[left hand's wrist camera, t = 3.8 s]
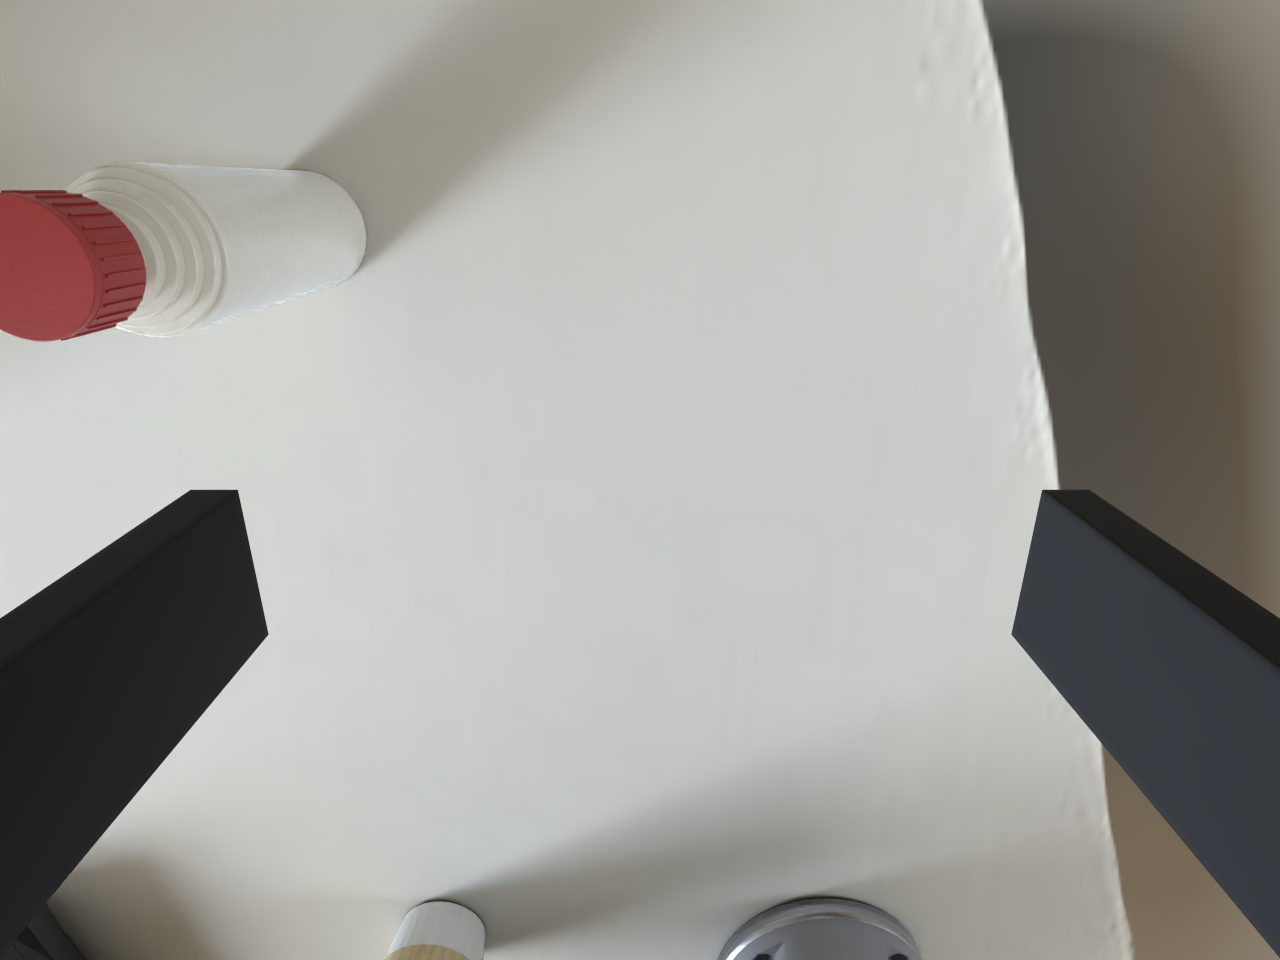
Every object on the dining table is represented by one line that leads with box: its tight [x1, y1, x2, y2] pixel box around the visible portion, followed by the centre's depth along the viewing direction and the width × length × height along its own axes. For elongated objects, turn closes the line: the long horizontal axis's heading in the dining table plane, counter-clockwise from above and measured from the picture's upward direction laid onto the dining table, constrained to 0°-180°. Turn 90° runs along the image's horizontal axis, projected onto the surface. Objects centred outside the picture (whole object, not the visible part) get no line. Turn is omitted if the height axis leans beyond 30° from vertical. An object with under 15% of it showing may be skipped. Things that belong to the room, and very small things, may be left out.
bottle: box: [64, 162, 366, 338], centre depth 29 cm, size 6×6×18 cm
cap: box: [0, 190, 146, 342], centre depth 21 cm, size 4×4×2 cm
